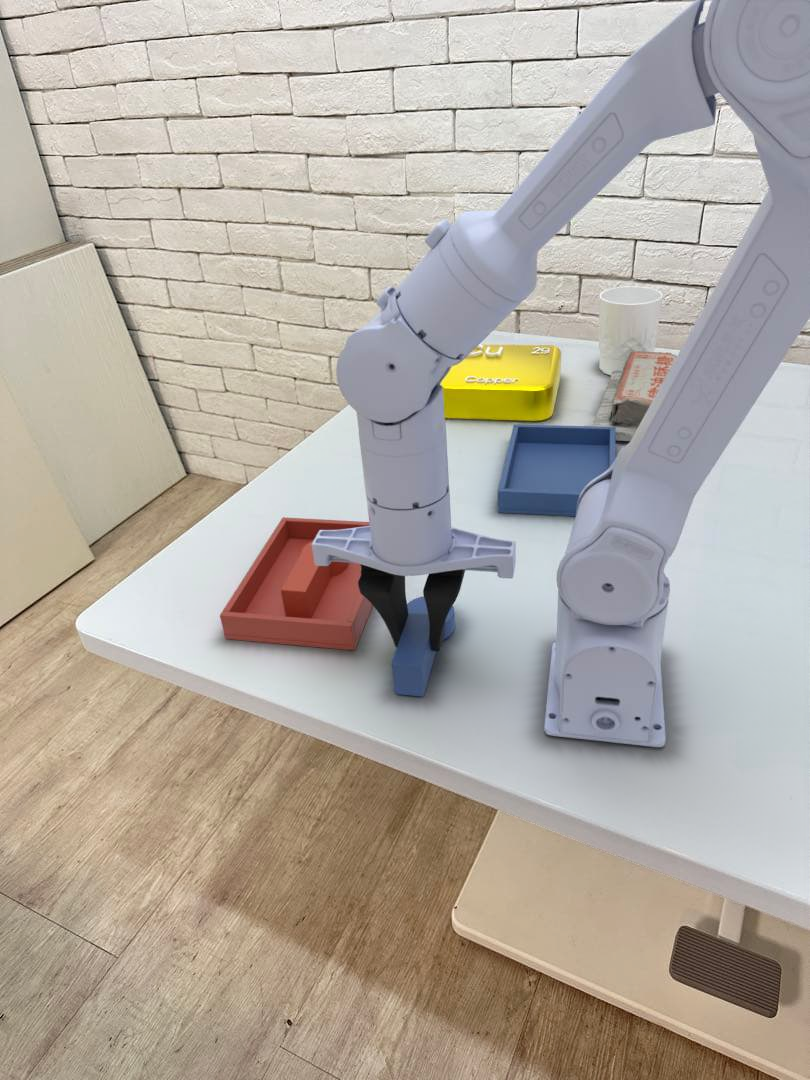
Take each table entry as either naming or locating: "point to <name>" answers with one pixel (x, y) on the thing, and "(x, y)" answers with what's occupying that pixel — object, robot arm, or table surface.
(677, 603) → the table surface
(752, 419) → the table surface
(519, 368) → the element tile
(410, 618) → the blue spoon
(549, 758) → the table surface
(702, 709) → the table surface
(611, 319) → the white cup
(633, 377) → the packaged product
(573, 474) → the blue tray
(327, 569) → the red spoon
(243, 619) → the red tray
